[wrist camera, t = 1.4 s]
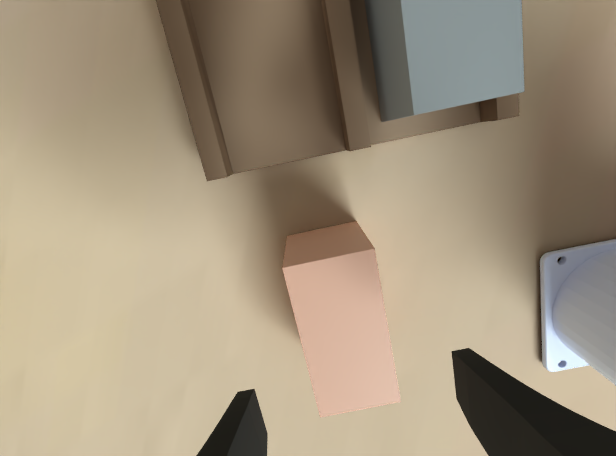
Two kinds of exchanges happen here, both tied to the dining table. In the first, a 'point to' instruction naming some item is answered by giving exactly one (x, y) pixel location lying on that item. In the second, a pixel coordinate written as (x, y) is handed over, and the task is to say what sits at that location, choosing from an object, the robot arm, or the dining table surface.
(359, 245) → the plug block
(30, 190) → the dining table surface
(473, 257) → the dining table surface
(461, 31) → the slate block
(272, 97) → the comb rack
